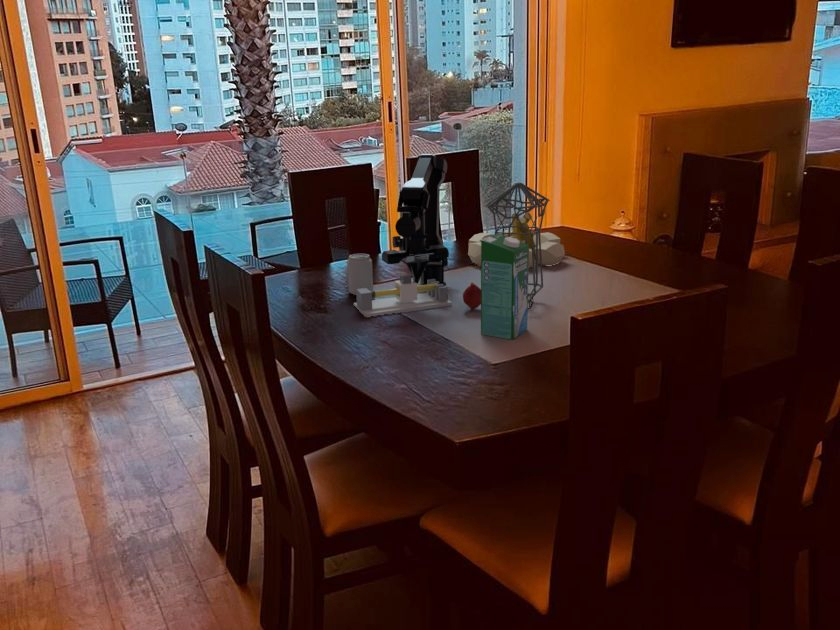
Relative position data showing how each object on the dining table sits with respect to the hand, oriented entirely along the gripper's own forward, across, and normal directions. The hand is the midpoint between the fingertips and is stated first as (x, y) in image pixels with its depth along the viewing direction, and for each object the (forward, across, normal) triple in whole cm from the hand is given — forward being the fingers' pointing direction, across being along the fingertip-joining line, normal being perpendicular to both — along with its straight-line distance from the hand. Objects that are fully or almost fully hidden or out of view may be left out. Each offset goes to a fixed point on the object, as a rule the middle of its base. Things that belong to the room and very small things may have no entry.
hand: (416, 283), depth 221 cm
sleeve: (+4, +3, 0) cm, 5 cm away
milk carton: (+7, -11, +33) cm, 36 cm away
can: (+6, +11, -18) cm, 22 cm away
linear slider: (+6, +4, 0) cm, 8 cm away
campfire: (+7, -52, -36) cm, 63 cm away
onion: (+6, -12, +12) cm, 19 cm away
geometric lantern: (+6, -26, +12) cm, 30 cm away
